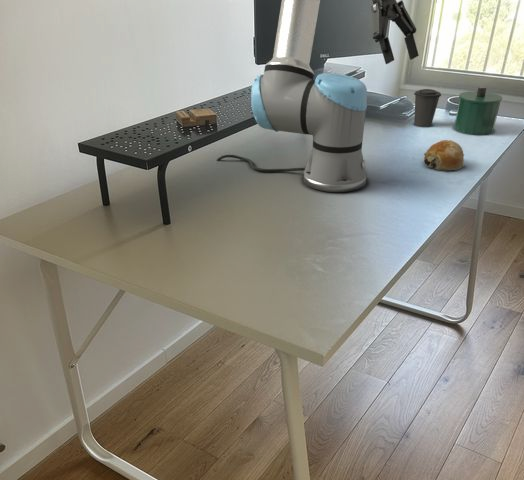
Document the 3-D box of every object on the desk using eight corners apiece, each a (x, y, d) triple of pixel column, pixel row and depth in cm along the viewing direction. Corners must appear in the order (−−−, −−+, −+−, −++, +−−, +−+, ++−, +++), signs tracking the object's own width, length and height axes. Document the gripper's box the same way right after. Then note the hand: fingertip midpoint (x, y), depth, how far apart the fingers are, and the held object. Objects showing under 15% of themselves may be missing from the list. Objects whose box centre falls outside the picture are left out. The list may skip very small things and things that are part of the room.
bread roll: (457, 185, 143) (477, 157, 139) (424, 168, 141) (443, 139, 136) (447, 171, 151) (466, 145, 147) (416, 155, 149) (434, 127, 144)
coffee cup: (404, 122, 177) (409, 88, 170) (427, 119, 178) (433, 86, 172) (417, 129, 170) (423, 94, 164) (441, 126, 172) (447, 92, 166)
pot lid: (453, 102, 163) (455, 88, 161) (465, 93, 172) (467, 80, 169) (495, 107, 158) (498, 94, 156) (505, 98, 166) (509, 85, 164)
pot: (449, 131, 169) (455, 99, 163) (460, 122, 176) (466, 91, 171) (487, 137, 164) (495, 104, 158) (497, 127, 171) (504, 96, 166)
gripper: (395, -9, 174) (414, 61, 179) (347, -7, 159) (369, 69, 164) (415, -22, 168) (434, 50, 173) (367, -21, 153) (389, 58, 158)
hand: (402, 60), depth 168 cm, fingers open, 13 cm apart
